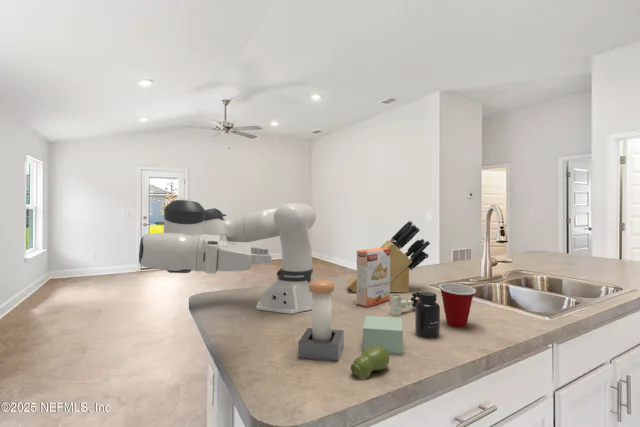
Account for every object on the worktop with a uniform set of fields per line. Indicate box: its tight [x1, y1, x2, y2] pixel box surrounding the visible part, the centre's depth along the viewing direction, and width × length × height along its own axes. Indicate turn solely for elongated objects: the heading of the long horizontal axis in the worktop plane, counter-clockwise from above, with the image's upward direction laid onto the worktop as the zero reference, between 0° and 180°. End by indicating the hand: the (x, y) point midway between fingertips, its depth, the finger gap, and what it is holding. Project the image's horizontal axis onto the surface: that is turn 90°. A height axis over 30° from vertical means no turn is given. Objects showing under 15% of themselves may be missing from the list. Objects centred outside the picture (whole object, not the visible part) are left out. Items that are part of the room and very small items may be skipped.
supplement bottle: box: [414, 291, 441, 339], centre depth 99 cm, size 7×7×12 cm
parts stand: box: [362, 315, 404, 355], centre depth 92 cm, size 10×10×6 cm
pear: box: [350, 345, 390, 380], centre depth 78 cm, size 6×5×10 cm
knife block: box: [347, 220, 431, 294], centre depth 151 cm, size 11×35×31 cm, turn 88°
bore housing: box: [297, 327, 345, 362], centre depth 89 cm, size 10×10×4 cm
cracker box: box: [356, 247, 391, 308], centre depth 132 cm, size 14×6×21 cm, turn 131°
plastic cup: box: [438, 282, 477, 329], centre depth 107 cm, size 11×11×12 cm
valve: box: [389, 291, 420, 317], centre depth 120 cm, size 7×7×12 cm
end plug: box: [309, 279, 335, 341], centre depth 88 cm, size 6×6×18 cm
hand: (269, 255), depth 85 cm, fingers open, 8 cm apart
